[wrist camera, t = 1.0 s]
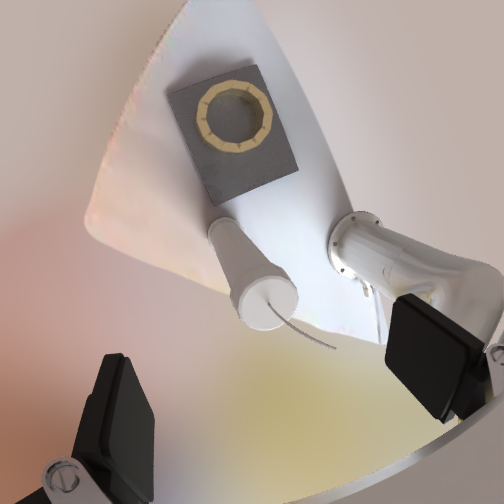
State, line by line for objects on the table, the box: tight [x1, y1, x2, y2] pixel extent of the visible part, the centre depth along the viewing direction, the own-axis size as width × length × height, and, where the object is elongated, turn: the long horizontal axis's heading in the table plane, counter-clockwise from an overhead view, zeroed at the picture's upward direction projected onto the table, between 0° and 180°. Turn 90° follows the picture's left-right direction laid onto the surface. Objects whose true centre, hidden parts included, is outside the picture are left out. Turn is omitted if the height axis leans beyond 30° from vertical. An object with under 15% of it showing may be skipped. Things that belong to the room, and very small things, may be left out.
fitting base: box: [168, 64, 299, 206], centre depth 39 cm, size 18×14×6 cm
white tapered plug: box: [208, 217, 336, 350], centre depth 32 cm, size 6×6×30 cm
